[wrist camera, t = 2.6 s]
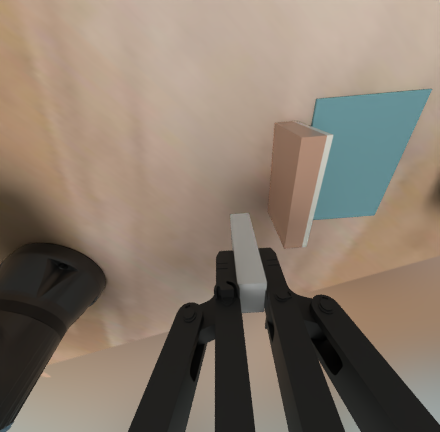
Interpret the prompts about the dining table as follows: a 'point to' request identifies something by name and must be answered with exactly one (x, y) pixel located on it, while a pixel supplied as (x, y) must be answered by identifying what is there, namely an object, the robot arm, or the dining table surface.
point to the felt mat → (363, 148)
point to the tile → (296, 179)
